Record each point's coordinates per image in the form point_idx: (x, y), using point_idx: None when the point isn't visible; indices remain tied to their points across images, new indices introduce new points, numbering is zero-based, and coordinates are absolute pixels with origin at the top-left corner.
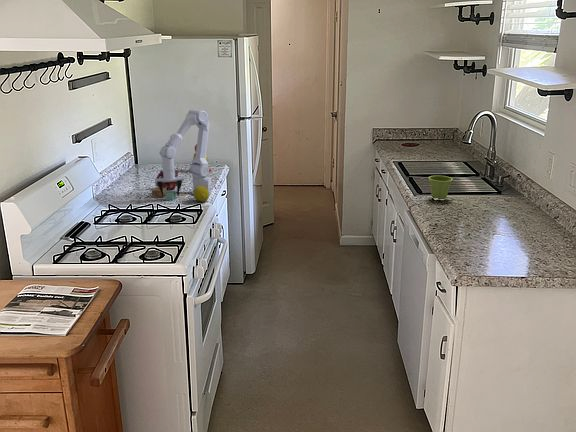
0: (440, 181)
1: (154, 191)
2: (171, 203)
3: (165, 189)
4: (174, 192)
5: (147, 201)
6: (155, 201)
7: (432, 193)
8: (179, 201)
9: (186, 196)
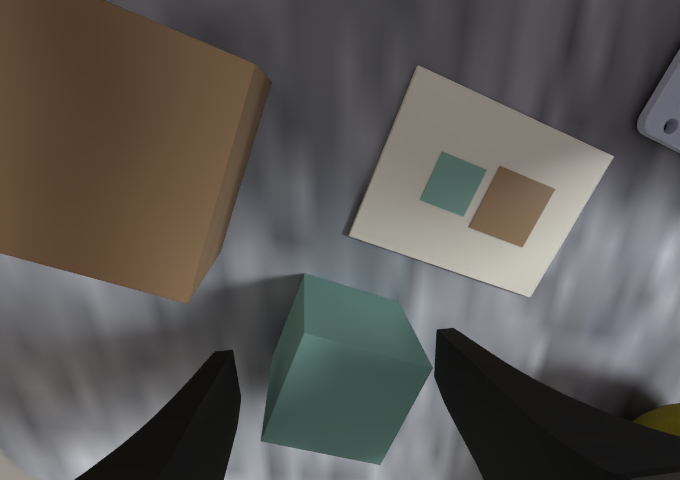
0: None
1: (18, 244)
2: (343, 475)
3: (237, 135)
4: (410, 395)
5: (39, 387)
6: (149, 396)
7: None
8: (428, 420)
9: (541, 255)
